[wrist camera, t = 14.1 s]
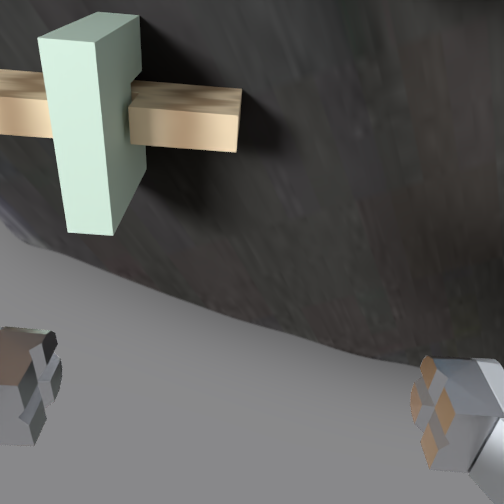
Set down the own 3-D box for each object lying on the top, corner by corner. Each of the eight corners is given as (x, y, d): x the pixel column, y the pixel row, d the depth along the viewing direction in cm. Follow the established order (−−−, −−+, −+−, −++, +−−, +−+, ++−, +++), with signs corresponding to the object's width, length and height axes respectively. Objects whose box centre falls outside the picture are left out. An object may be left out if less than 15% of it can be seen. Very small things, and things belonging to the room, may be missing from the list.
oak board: (241, 89, 44) (238, 115, 37) (239, 121, 45) (236, 152, 39) (-2, 69, 43) (-51, 92, 36) (5, 102, 45) (-40, 131, 38)
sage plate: (139, 15, 40) (94, 42, 30) (146, 168, 48) (113, 235, 37) (97, 11, 40) (37, 37, 29) (111, 166, 48) (67, 232, 37)
